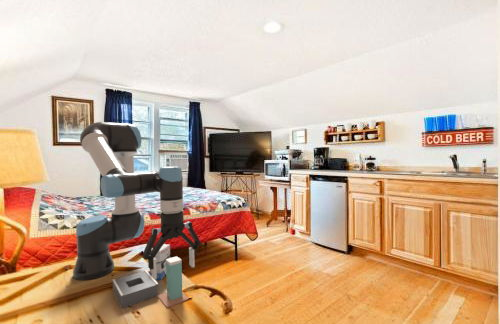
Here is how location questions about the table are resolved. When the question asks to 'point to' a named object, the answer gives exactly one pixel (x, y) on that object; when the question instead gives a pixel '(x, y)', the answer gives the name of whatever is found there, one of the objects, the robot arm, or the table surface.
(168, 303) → the mat
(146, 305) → the table surface
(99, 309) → the table surface
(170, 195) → the robot arm
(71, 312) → the table surface
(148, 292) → the grey socket base
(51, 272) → the table surface
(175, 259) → the teal tall block
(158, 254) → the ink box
